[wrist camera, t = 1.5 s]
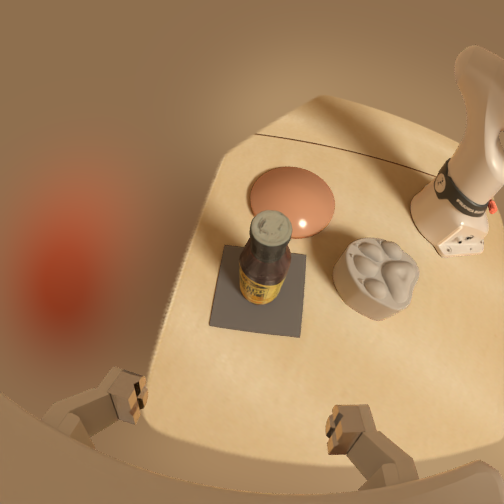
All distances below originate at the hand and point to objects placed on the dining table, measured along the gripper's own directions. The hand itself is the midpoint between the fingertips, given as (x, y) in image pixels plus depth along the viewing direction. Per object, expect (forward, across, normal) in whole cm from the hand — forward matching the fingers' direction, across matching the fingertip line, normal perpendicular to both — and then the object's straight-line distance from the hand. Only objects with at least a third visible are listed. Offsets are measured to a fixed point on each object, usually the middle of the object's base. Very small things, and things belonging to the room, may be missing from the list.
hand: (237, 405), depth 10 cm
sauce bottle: (+33, 0, +10) cm, 34 cm away
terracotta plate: (+45, -4, -3) cm, 45 cm away
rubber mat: (+33, 0, +10) cm, 34 cm away
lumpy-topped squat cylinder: (+35, -18, +8) cm, 40 cm away
